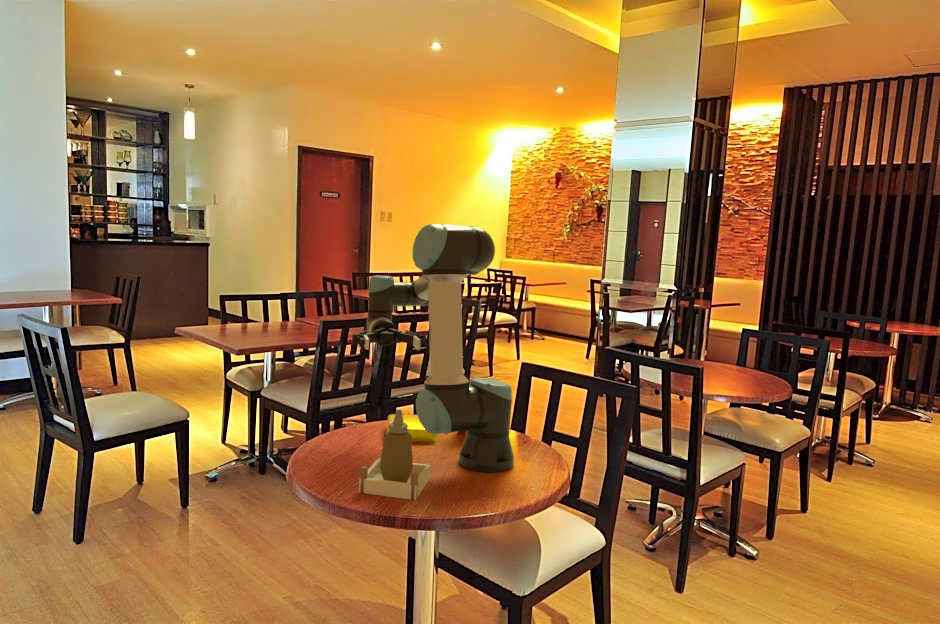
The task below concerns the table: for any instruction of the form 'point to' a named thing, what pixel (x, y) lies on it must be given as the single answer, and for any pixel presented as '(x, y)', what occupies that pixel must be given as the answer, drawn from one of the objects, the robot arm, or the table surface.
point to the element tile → (414, 428)
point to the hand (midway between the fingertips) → (393, 344)
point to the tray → (393, 482)
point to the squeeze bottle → (397, 451)
